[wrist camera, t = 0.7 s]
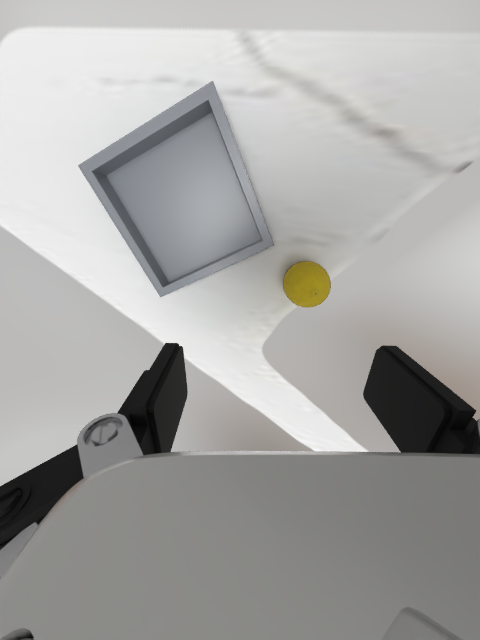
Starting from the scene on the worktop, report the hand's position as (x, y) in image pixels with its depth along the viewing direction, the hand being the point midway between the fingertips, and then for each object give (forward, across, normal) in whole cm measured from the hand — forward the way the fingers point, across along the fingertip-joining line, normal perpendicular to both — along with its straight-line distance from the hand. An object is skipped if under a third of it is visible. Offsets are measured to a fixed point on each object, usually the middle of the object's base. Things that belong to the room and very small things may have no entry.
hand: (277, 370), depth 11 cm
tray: (+23, +8, -8) cm, 25 cm away
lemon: (+23, -6, +1) cm, 24 cm away
